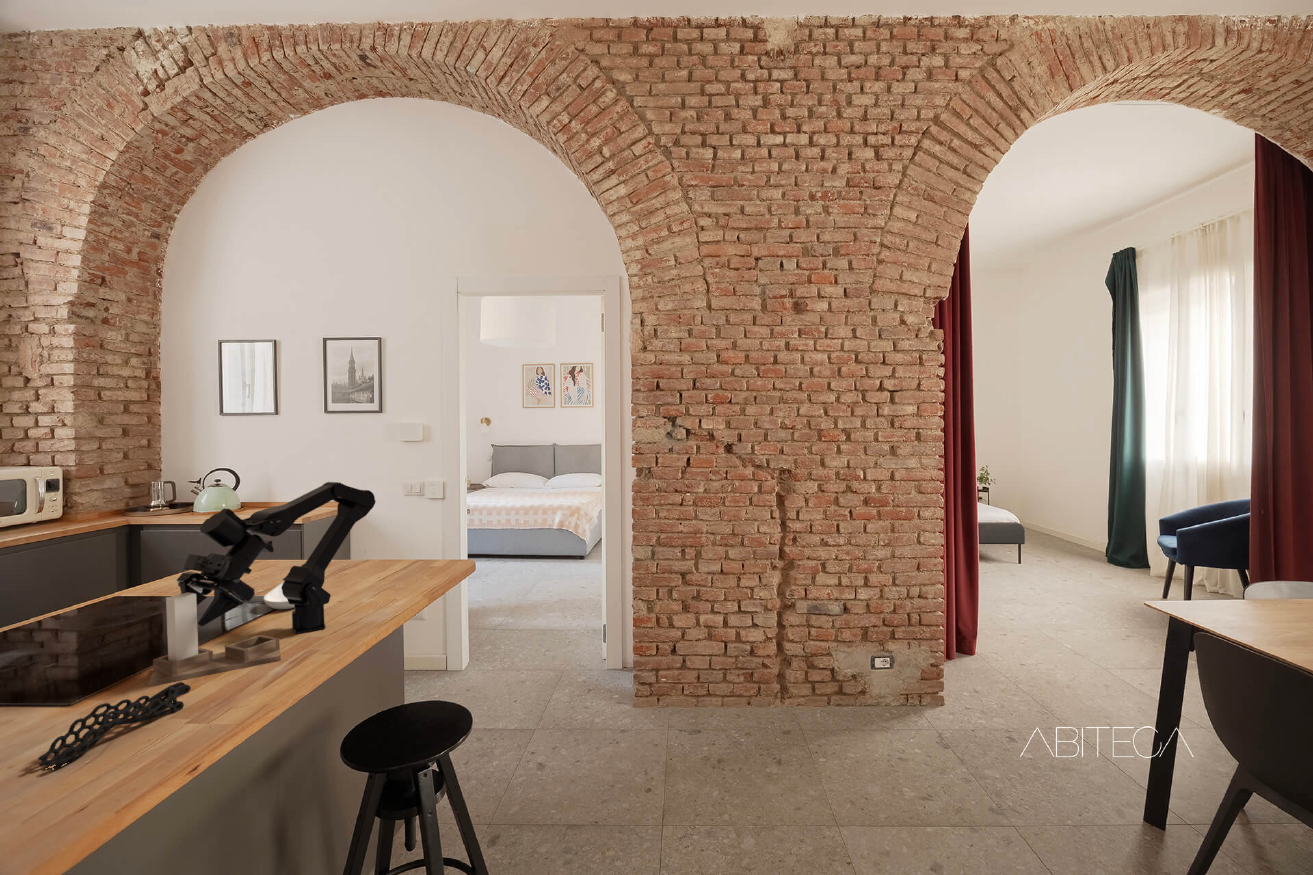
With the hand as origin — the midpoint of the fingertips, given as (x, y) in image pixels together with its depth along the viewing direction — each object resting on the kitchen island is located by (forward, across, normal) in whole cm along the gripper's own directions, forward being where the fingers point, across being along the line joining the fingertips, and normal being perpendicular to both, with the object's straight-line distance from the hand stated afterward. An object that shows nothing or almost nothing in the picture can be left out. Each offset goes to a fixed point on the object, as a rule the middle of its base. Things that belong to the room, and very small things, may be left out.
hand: (186, 622), depth 126 cm
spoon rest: (-22, -27, +38) cm, 51 cm away
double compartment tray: (+4, +3, +10) cm, 11 cm away
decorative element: (+21, +19, -7) cm, 29 cm away
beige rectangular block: (+7, 0, +6) cm, 9 cm away
